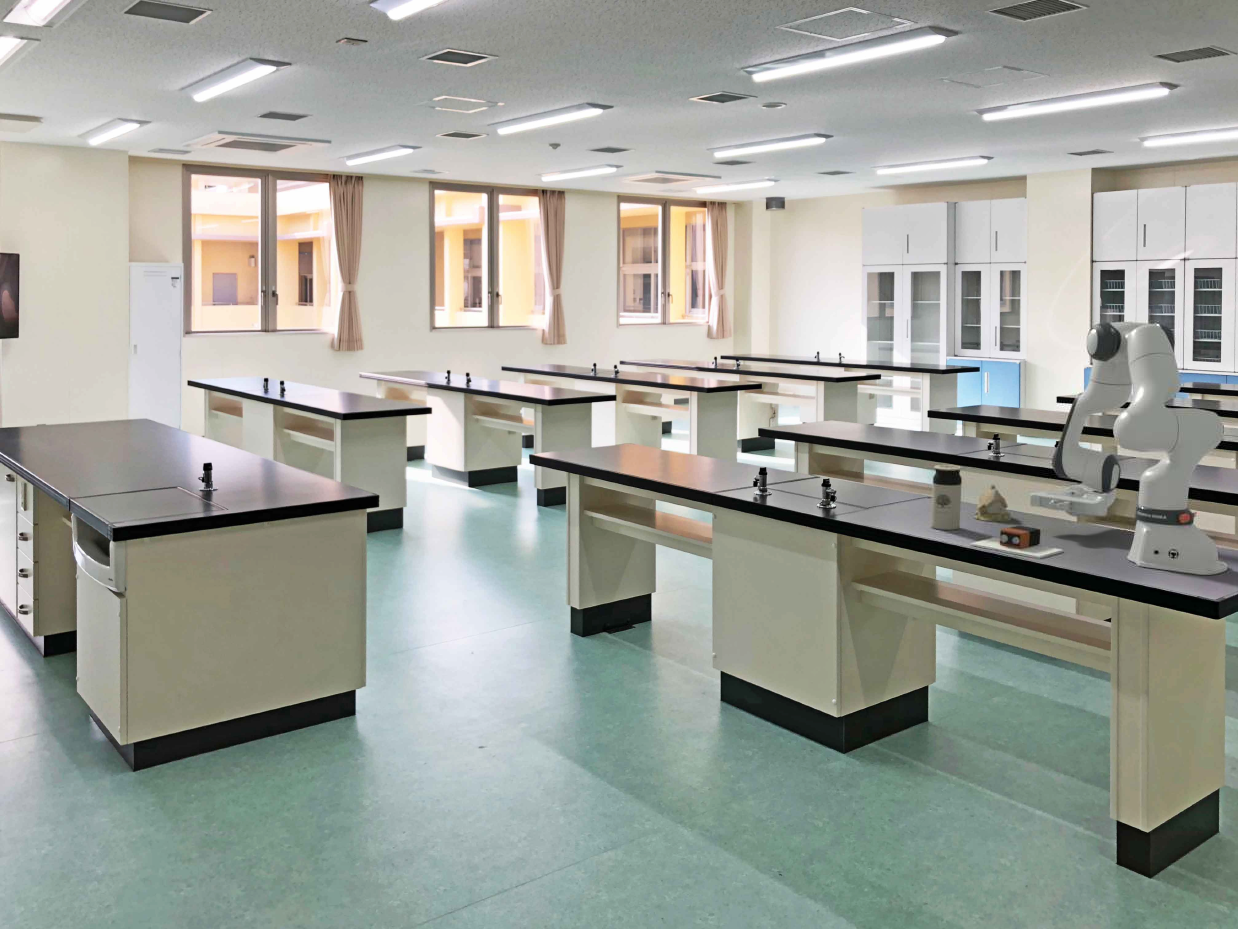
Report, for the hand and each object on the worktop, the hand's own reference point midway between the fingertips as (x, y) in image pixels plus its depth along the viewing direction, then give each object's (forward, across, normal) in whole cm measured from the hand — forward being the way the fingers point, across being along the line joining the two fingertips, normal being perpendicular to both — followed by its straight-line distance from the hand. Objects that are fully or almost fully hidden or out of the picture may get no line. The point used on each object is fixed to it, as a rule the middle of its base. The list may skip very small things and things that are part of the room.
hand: (1053, 506), depth 304 cm
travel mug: (+9, -28, +9) cm, 31 cm away
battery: (+12, 0, +6) cm, 13 cm away
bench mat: (+19, 0, +9) cm, 21 cm away
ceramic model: (-16, -28, +10) cm, 33 cm away
